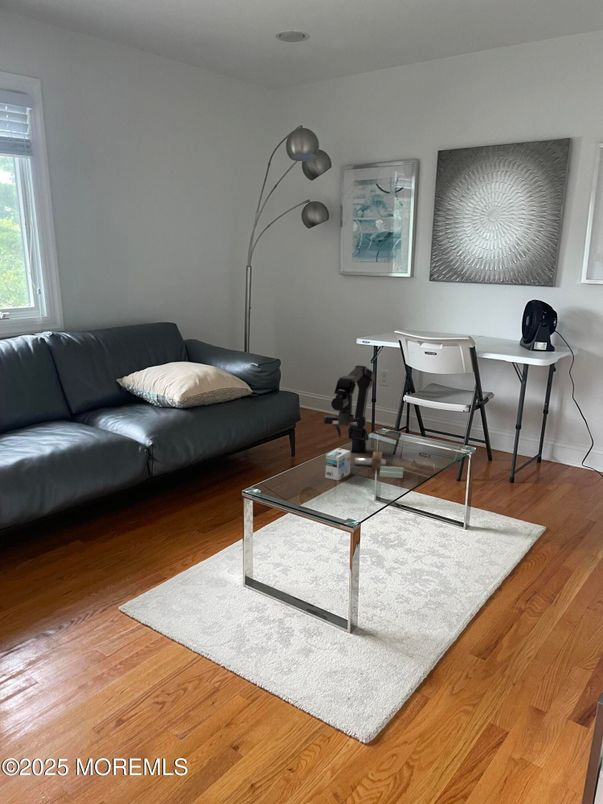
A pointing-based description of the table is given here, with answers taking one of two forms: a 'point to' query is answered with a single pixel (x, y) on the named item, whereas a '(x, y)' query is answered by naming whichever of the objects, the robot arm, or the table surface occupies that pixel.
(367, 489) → the table surface
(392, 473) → the cradle
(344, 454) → the light bulb box
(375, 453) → the bearing block
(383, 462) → the axle
